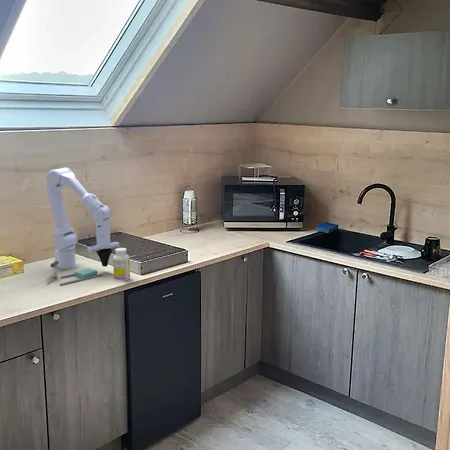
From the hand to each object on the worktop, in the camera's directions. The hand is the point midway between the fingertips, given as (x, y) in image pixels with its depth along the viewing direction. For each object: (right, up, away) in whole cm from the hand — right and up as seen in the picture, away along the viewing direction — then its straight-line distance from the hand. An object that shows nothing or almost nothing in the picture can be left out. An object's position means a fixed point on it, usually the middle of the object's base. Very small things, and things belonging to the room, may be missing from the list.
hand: (104, 265), depth 244 cm
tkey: (-19, -5, -11) cm, 22 cm away
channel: (-10, -5, -8) cm, 14 cm away
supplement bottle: (+8, -5, -7) cm, 12 cm away
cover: (-7, -5, -5) cm, 10 cm away
